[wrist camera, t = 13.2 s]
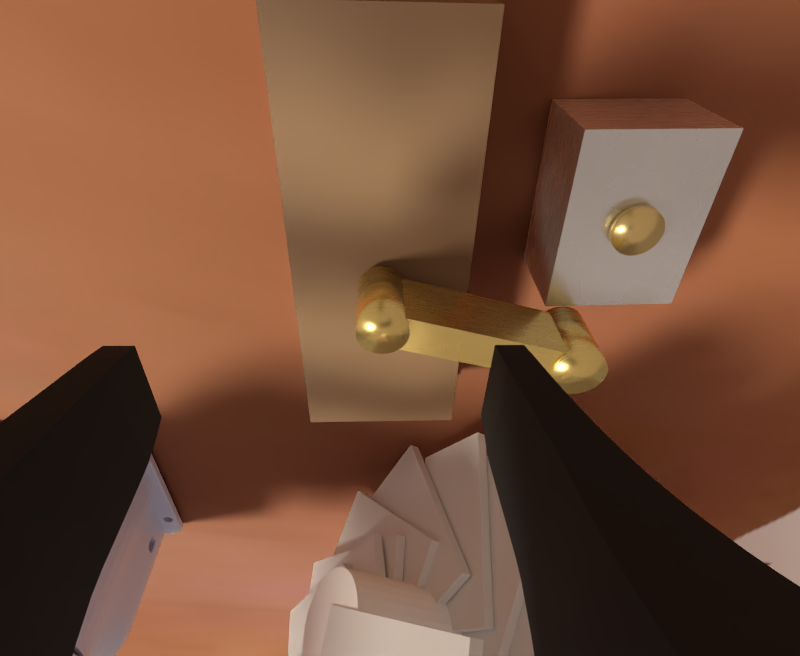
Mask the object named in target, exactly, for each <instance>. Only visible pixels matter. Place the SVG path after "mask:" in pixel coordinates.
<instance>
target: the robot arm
mask: <svg viewBox="0 0 800 656" xmlns="http://www.w3.org/2000/svg"><path fill="white" fill-rule="evenodd" d="M481 414H482V421H483V429H484V436H485V442H486V448H487V455H488V460H489V463H490V467H491V471H492V475H493V478H494V482H495V486H496V489H497V493H498V496H499V500H500V504H501V507H502V511H503V514H504V518H505V521H506V525H507V529H508V532H509V536H510V539H511V543H512V546H513V550H514V554H515V557H516V561H517V565H518V569H519V574H520V578H521V582H522V588H523V593H524V599H525V604H526V610H527V615H528V621H529V627H530V632H531V638H532V644H533V650H534V656H800V587H799V586H798V585H796V584H794V583H793V582H792V581H790V580H789V579H787V578H785V577H784V576H782V575H781V574H779V573H778V572H776V571H775V570H773V569H772V568H771V567H769V566H768V565H766V564H765V563H763V562H762V561H760V560H759V559H757V558H756V557H754V556H753V555H752V554H750V553H749V552H747V551H746V550H744V549H743V548H742V547H740V546H739V545H738V544H736V543H735V542H734V541H732V540H731V539H729V538H728V537H727V536H725V535H724V534H723V533H721V532H720V531H719V530H717V529H716V528H715V527H713V526H712V525H710V524H709V523H708V522H706V521H705V520H704V519H702V518H701V517H700V516H699V515H697V514H696V513H695V512H693V511H692V510H691V509H690V508H688V507H687V506H686V505H684V504H683V503H682V502H681V501H680V500H678V499H677V498H676V497H675V496H674V495H672V494H671V493H670V492H669V491H668V490H666V489H665V488H664V487H663V486H662V485H660V484H659V483H658V482H657V481H656V480H654V479H653V478H652V477H651V476H650V475H649V474H647V473H646V472H645V471H644V470H643V469H642V468H641V467H639V466H638V465H637V464H636V463H635V462H634V461H633V460H632V459H631V458H630V457H629V456H628V455H627V454H625V453H624V452H623V451H622V450H621V449H620V448H619V447H618V446H617V445H616V444H615V443H614V442H613V441H612V440H611V439H610V438H609V437H608V436H607V435H606V434H605V433H604V432H603V431H602V430H601V429H600V428H599V427H598V426H597V425H596V424H595V423H594V422H593V421H592V420H591V419H590V418H589V417H588V416H587V415H586V414H585V413H584V411H583V410H582V409H581V408H580V407H579V406H578V405H577V404H576V403H575V402H574V401H573V400H572V399H571V398H570V396H569V395H568V394H567V393H566V392H565V391H564V390H563V389H562V387H561V386H560V385H559V384H558V383H557V382H556V381H555V380H554V378H553V377H552V376H551V375H550V374H549V373H548V372H547V370H546V369H545V368H544V367H543V366H542V365H541V363H540V362H539V361H538V360H537V359H536V358H535V357H534V355H533V354H532V353H531V352H530V351H529V350H528V349H527V348H526V347H525V345H495V347H494V352H493V357H492V362H491V367H490V373H489V378H488V383H487V388H486V393H485V398H484V403H483V408H482V413H481ZM160 421H161V415H160V412H159V409H158V407H157V404H156V401H155V399H154V396H153V393H152V391H151V388H150V385H149V383H148V380H147V377H146V375H145V372H144V369H143V367H142V364H141V361H140V359H139V356H138V353H137V351H136V348H135V346H102V347H101V348H99V349H98V350H96V351H95V352H94V353H92V354H91V355H89V356H88V357H87V358H85V359H84V360H83V361H81V362H80V363H79V364H77V365H76V366H75V367H73V368H72V369H71V370H69V371H68V372H67V373H65V374H64V375H63V376H61V377H60V378H59V379H58V380H56V381H55V382H54V383H52V384H51V385H50V386H48V387H47V388H46V389H45V390H43V391H42V392H41V393H39V394H38V395H37V396H35V397H34V398H33V399H31V400H30V401H29V402H27V403H26V404H25V405H23V406H22V407H21V408H19V409H18V410H17V411H15V412H14V413H13V414H11V415H10V416H9V417H7V418H6V419H5V420H3V421H2V422H1V423H0V656H115V655H116V654H117V652H118V651H119V649H120V648H121V646H122V645H123V643H124V642H125V640H126V638H127V636H128V634H129V632H130V629H131V627H132V624H133V621H134V618H135V615H136V613H137V610H138V607H139V604H140V601H141V598H142V596H143V593H144V590H145V587H146V584H147V581H148V579H149V576H150V573H151V570H152V567H153V564H154V562H155V559H156V556H157V553H158V550H159V547H160V544H161V542H162V539H163V536H164V533H177V532H179V531H181V529H182V526H183V523H182V521H181V519H180V516H179V514H178V512H177V510H176V507H175V505H174V503H173V501H172V498H171V496H170V494H169V492H168V489H167V487H166V485H165V483H164V480H163V478H162V476H161V474H160V471H159V469H158V467H157V465H156V463H155V460H154V458H153V456H152V454H151V453H152V450H153V447H154V443H155V440H156V436H157V432H158V428H159V424H160Z"/></svg>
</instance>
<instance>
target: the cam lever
mask: <svg viewBox="0 0 800 656" xmlns="http://www.w3.org/2000/svg"><path fill="white" fill-rule="evenodd" d="M355 334H356V339H357V341H358V343H359V344H360V345H361V346H362V347H363V348H364V349H366V350H368V351H370V352H373V353H377V354H387V353H392V352H395V351H397V350H403V351H408V352H413V353H418V354H423V355H428V356H433V357H438V358H443V359H448V360H453V361H458V362H463V363H468V364H473V365H478V366H483V367H488V368H490V367H491V362H492V357H493V352H494V347H495V345H525V347H526V348H527V349H528V350H529V351H530V352H531V353H532V354H533V355H534V357H535V358H536V359H537V360H538V361H539V362H540V363H541V365H542V366H543V367H544V368H545V369H546V370H547V372H548V373H549V374H550V375H551V376H552V377H553V378H554V380H555V381H556V382H557V383H558V384H559V385H560V386H561V387H562V389H563V390H564V391H565V392H566V393H568V394H578V393H583V392H587V391H589V390H591V389H593V388H595V387H596V386H598V385H599V384H600V383H601V382H602V381H603V380H604V379H605V377H606V375H607V373H608V364H607V362H606V360H605V358H604V356H603V354H602V352H601V351H600V349H599V347H598V345H597V343H596V342H595V340H594V338H593V336H592V334H591V333H590V331H589V329H588V327H587V325H586V323H585V322H584V320H583V318H582V316H581V314H580V313H579V312H578V311H577V310H575V309H573V308H570V307H555V308H552V309H549V310H547V311H541V310H537V309H533V308H529V307H524V306H520V305H516V304H511V303H507V302H503V301H498V300H494V299H490V298H486V297H481V296H477V295H473V294H468V293H464V292H460V291H455V290H451V289H447V288H443V287H438V286H434V285H430V284H425V283H421V282H417V281H412V280H408V279H404V278H403V277H402V275H401V274H400V273H399V272H398V271H396V270H395V269H393V268H390V267H385V266H378V267H373V268H371V269H369V270H367V271H366V272H364V273H363V274H362V276H361V277H360V279H359V281H358V290H357V311H356V333H355Z"/></svg>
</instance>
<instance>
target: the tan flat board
mask: <svg viewBox="0 0 800 656" xmlns="http://www.w3.org/2000/svg"><path fill="white" fill-rule="evenodd" d="M256 6H257V14H258V21H259V29H260V37H261V44H262V52H263V60H264V68H265V75H266V83H267V91H268V98H269V106H270V114H271V122H272V129H273V137H274V145H275V152H276V160H277V168H278V176H279V183H280V191H281V199H282V206H283V214H284V222H285V230H286V237H287V245H288V253H289V260H290V268H291V276H292V284H293V291H294V299H295V307H296V314H297V322H298V330H299V338H300V345H301V353H302V361H303V368H304V376H305V384H306V392H307V399H308V407H309V415H310V422H358V421H421V420H452V412H453V404H454V397H455V389H456V381H457V373H458V365H459V362H458V361H453V360H448V359H443V358H438V357H433V356H428V355H423V354H418V353H413V352H408V351H403V350H397V351H395V352H392V353H387V354H377V353H373V352H370V351H368V350H366V349H364V348H363V347H362V346H361V345H360V344H359V343H358V341H357V339H356V334H355V333H356V311H357V290H358V281H359V279H360V277H361V276H362V274H363V273H364V272H366V271H367V270H369V269H371V268H373V267H378V266H385V267H390V268H393V269H395V270H396V271H398V272H399V273H400V274H401V275H402V277H403V278H404V279H408V280H412V281H417V282H421V283H425V284H430V285H434V286H438V287H443V288H447V289H451V290H455V291H460V292H464V293H468V287H469V279H470V272H471V264H472V256H473V248H474V240H475V233H476V225H477V217H478V209H479V201H480V194H481V186H482V178H483V170H484V162H485V154H486V147H487V139H488V131H489V123H490V115H491V108H492V100H493V92H494V84H495V76H496V69H497V61H498V53H499V45H500V37H501V29H502V22H503V14H504V6H505V4H504V3H502V2H500V1H498V0H256Z"/></svg>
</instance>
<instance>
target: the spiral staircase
mask: <svg viewBox="0 0 800 656" xmlns="http://www.w3.org/2000/svg"><path fill="white" fill-rule="evenodd" d="M288 656H534V650H533V644H532V638H531V632H530V627H529V621H528V615H527V610H526V604H525V599H524V593H523V588H522V582H521V578H520V574H519V569H518V565H517V561H516V557H515V554H514V550H513V546H512V543H511V539H510V536H509V532H508V529H507V525H506V521H505V518H504V514H503V511H502V507H501V504H500V500H499V496H498V493H497V489H496V486H495V482H494V478H493V475H492V471H491V467H490V463H489V460H488V456H487V457H486V442H485V436H484V434H481V433H479V432H477V433H475V434H473V435H471V436H469V437H467V438H465V439H463V440H461V441H459V442H457V443H455V444H453V445H450V446H448V447H446V448H444V449H442V450H440V451H438V452H436V453H434V454H432V455H430V456H428V457H426V458H425V463H424V461H423V458H422V456H421V453H420V451H419V448H418V447H416V446H413V445H410V446H409V448H408V449H407V450H406V452H405V453H404V454H403V456H402V457H401V458H400V460H399V461H398V462H397V464H396V465H395V466H394V468H393V469H392V470H391V472H390V473H389V474H388V476H387V477H386V478H385V480H384V481H383V482H382V484H381V485H380V487H379V488H378V489H377V491H376V492H375V493H374V495H373V496H372V497H370V496H369V495H367V494H366V493H363V492H360V491H358V492H357V494H356V497H355V500H354V502H353V505H352V508H351V510H350V513H349V516H348V518H347V521H346V523H345V526H344V529H343V531H342V534H341V537H340V539H339V542H338V545H337V547H336V550H335V552H334V555H333V556H332V557H329V558H326V559H323V560H320V561H317V562H314V567H313V573H312V579H311V585H310V592H309V594H308V595H307V596H306V597H305V598H304V599H303V600H302V601H301V602H300V603H299V604H298V605H297V606H296V607H295V608H294V609H293V610H292V611H291V612H290V626H289V647H288Z"/></svg>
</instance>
